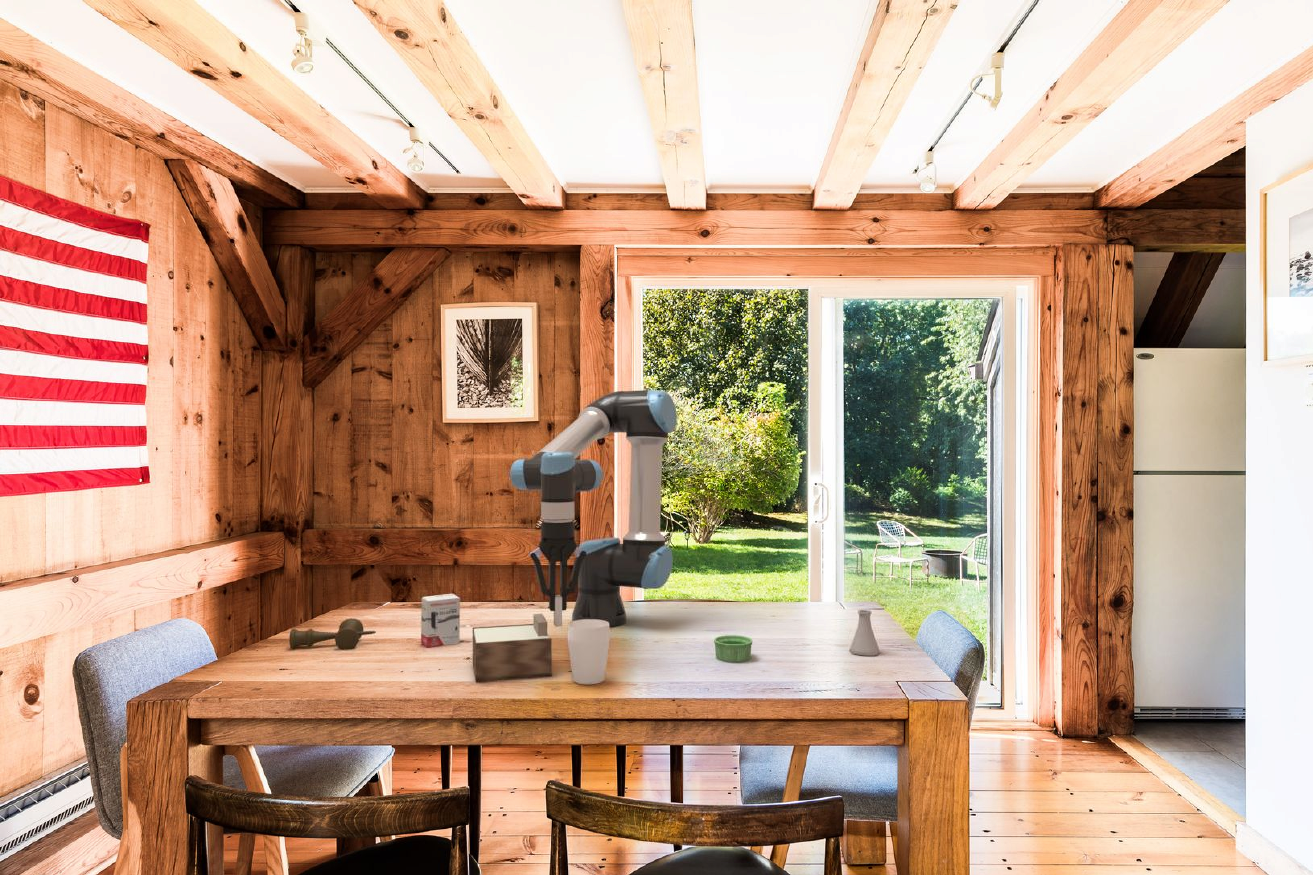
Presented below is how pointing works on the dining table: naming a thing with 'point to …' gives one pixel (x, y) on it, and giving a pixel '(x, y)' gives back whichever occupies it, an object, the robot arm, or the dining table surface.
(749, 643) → the ramekin
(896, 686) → the dining table surface
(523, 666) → the box
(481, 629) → the lid
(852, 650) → the flask
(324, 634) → the kendama
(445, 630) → the ink box
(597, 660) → the cup
